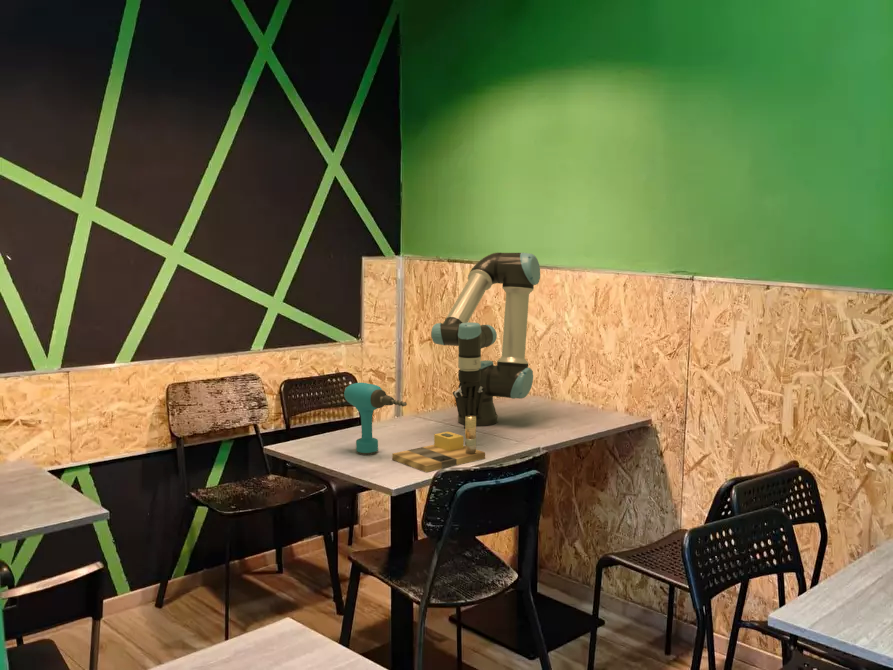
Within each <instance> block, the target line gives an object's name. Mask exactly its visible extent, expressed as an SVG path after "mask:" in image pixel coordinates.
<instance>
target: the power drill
mask: <svg viewBox="0 0 893 670" xmlns="http://www.w3.org/2000/svg"><path fill="white" fill-rule="evenodd" d="M343 396H344V399H345V401H347V403H349V405H351V406H353V407H354V408H356V410H357V411H358V412H359V414H360V425H361V427H360V428H361V437H360V438H357V439H356V441H355V448H356V449H355V452H356V454H358V455H363V456H370V455H375V454H378V452H379V440H378V438H375V437H373V416H374V415H373V413H374V411H376V410H377V409H382V408H383V407H385V406H393V405H395V406H397V405H398V406H399V407H400V406H401V407H407V405H408V404H407V402H406V401H403V400H399V399H397V400H396V399H395V398H394V397H392V396H390V395H388V394H387V393H386V390H383V389H382V388H381V387H380V386H379V385H378V384H373V383H368V382H355V383H351V384H350V385H348V386H346V387H345V389H344V391H343Z"/></svg>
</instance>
